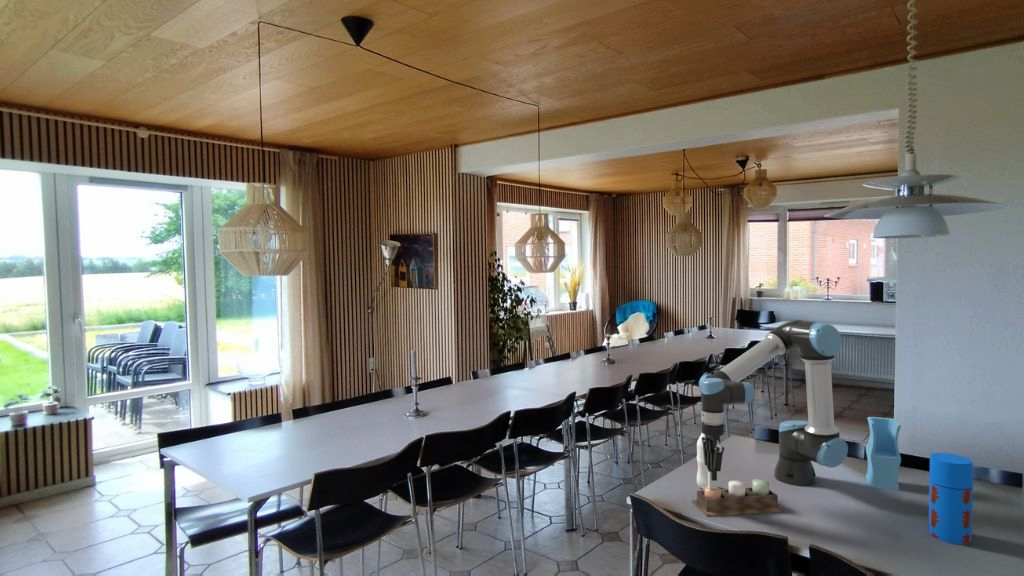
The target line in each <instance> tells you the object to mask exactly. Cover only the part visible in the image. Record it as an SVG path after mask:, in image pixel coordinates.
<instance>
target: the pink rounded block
mask: <svg viewBox="0 0 1024 576" xmlns="http://www.w3.org/2000/svg"><path fill="white" fill-rule="evenodd" d="M705 496H706V497H707V498H708V499H712V498H721V488H720V487H718V486H717V489H709V488H708V486H706V487H705Z"/></svg>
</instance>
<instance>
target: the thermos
mask: <svg viewBox="0 0 1024 576" xmlns="http://www.w3.org/2000/svg"><path fill="white" fill-rule="evenodd" d="M928 483H929V489H928V490H929V491H928V492H929V494H928V496H929V497H928V499H929V500H928V526H929V528H928V529H929V534H930V536H931V537H933V538H935V539H937V540H940V541H942V542H945V543H949V544H954V545H967V544H970V543H971V542H972V535H973V533H972V532H973V492H974V491H973V490H974V486H973V485H974V464H973V460H972V459H970V458H968V457H966V456H962V455H959V454H954V453H948V452H946V453H945V452H934V453H930V457H929V482H928Z"/></svg>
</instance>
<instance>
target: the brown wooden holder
mask: <svg viewBox="0 0 1024 576" xmlns="http://www.w3.org/2000/svg"><path fill="white" fill-rule="evenodd" d="M720 489H721V488H720ZM778 497H779V496H778V494H776V493H775V492H773V491H772V490H771V489H769V495H762V496H757V495H755V494H754V493H753V492H752V487H745V497H732V496H730V495H729V488H723V489H721V498H712V499H708V498H707V497H706V496H705V490H703V489H701V490H696V499H692V500H691V503H692V504H693V505H694V506H695V507H696V508H697V509H698V510H699V511H701V513H703V515H704V516H705V517H718V516H719V517H720V516H735V515H736V516H737V515H750V514H751V513H754V514H766V513H767V514H768V513H769V512H770V513H781V512H784V509H783V508H782V507H781V506H780V505H778V504H779V501H778ZM751 515H752V514H751Z"/></svg>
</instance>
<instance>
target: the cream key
mask: <svg viewBox="0 0 1024 576" xmlns="http://www.w3.org/2000/svg"><path fill="white" fill-rule="evenodd" d="M745 488H746V483H745V482H744V481H740V480H730V481H728V489H729V495H730V496H732V497H745Z"/></svg>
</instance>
